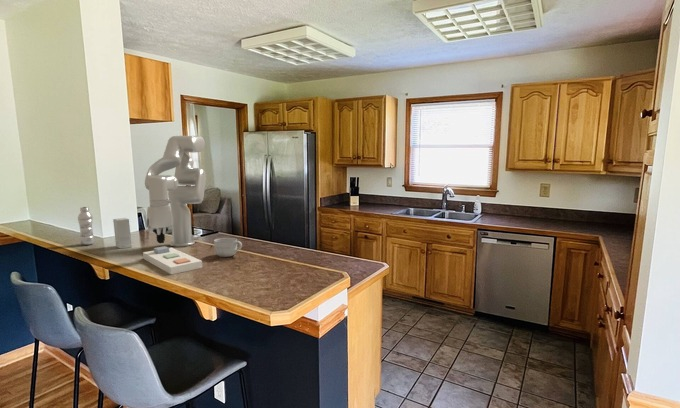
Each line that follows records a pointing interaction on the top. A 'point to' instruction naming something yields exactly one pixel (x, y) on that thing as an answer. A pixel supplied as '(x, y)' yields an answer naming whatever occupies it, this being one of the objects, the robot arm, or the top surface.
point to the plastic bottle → (86, 226)
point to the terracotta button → (181, 261)
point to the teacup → (226, 246)
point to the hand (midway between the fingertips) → (160, 242)
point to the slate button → (161, 250)
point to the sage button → (170, 256)
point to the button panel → (169, 264)
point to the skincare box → (122, 233)
